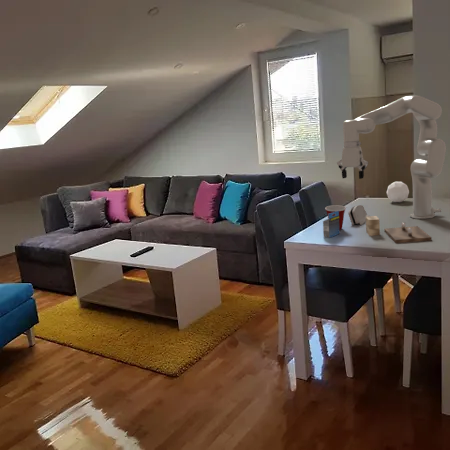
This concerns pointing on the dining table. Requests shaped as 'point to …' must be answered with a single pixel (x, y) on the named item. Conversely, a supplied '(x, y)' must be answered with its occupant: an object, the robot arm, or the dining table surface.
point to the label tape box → (331, 225)
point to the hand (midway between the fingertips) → (352, 178)
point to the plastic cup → (333, 209)
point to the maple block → (372, 225)
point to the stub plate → (407, 234)
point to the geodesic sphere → (397, 191)
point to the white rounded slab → (357, 215)
